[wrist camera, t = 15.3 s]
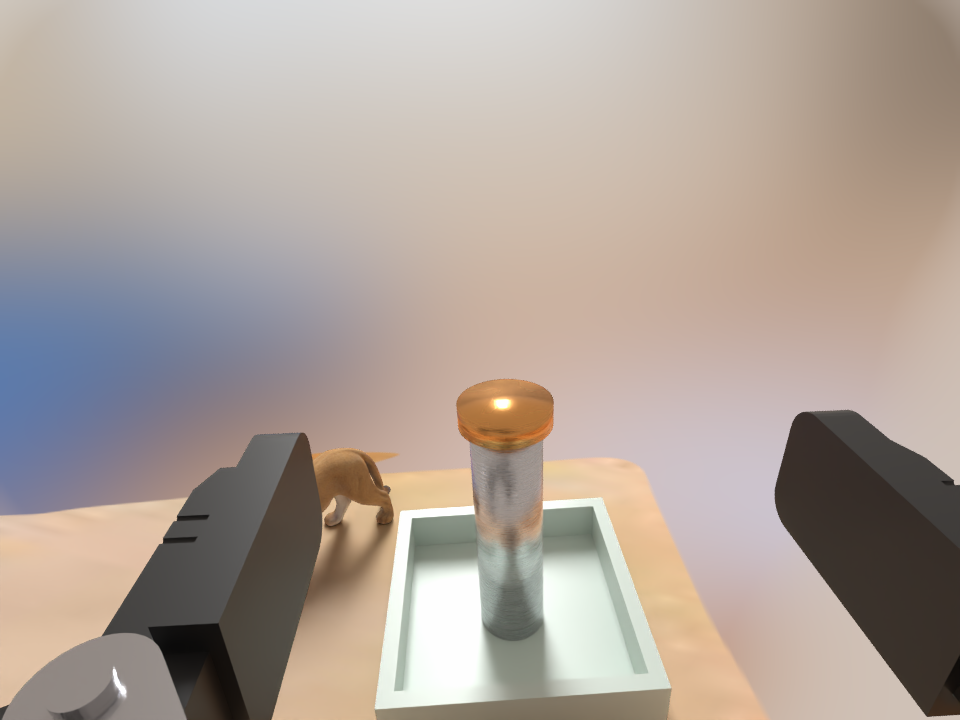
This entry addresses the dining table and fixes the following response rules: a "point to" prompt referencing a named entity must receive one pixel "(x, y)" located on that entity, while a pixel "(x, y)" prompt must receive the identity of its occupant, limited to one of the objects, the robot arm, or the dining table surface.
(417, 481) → the dining table surface
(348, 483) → the lion figurine
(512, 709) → the tray
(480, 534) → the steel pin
